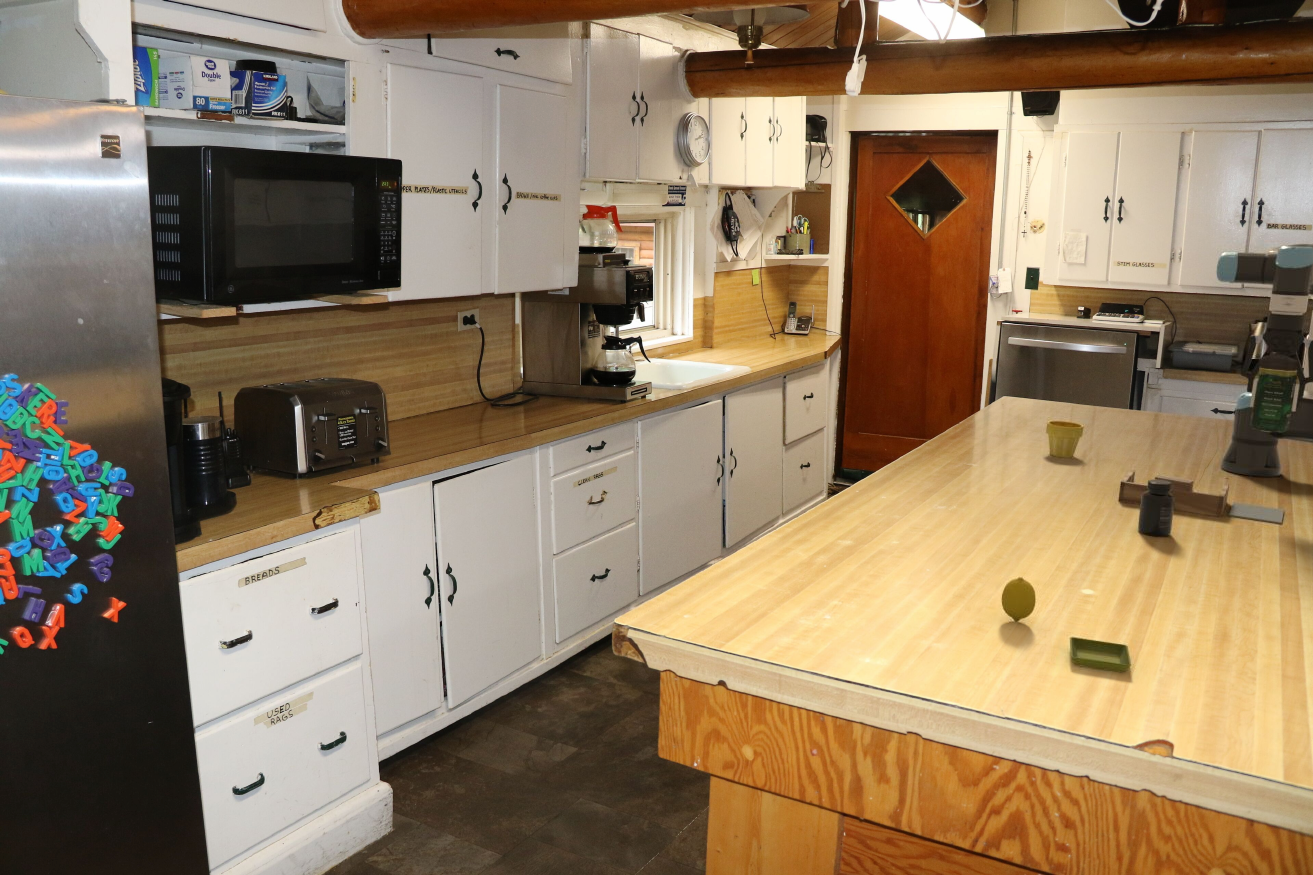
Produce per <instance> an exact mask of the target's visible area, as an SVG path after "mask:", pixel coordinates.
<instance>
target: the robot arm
mask: <svg viewBox="0 0 1313 875" xmlns="http://www.w3.org/2000/svg"><path fill="white" fill-rule="evenodd" d="M1216 278H1217V280H1218V281H1219V282H1222V283H1229V284H1253V285H1268V286H1271V285H1272V289H1271V294H1270V302H1269V307H1268V309H1269V311H1271V312H1269V313H1268V314H1267V321H1266V327H1265V332H1264V333H1263V334H1258V335H1255V334H1251V336H1249V347H1248V351H1247V353H1246V356H1245V360H1244V362H1243V366H1242V369H1241V371H1240V375H1241V377H1244V378H1246V379H1247V387H1246V392H1243V393H1241V394H1239V395H1238V397H1237V402H1236V405H1235V407H1234V410H1235V411H1234V417H1233V426H1232V432H1231V440H1230V443H1229V445H1228V447H1227V448H1226V450H1225V453H1224V454H1223V456H1222V458H1221V461H1220V469H1222V470H1224V471H1227V472H1230V473H1234V474H1239V475H1244V476H1251V477H1252V476H1253V477H1262V478H1263V477H1267V478H1270V477H1273V478H1274V477H1278V476H1280V475H1281V473H1282V464H1281V458H1280V454H1279V450H1278V447H1279V446H1278V444H1279V440H1287V441H1292V442H1293V441H1294V442H1301V443H1308V444H1313V311H1311V312H1312V313H1311V319H1310V326H1309V333H1308V338H1307V337H1305V336H1304V328H1305V321H1306V316H1305V315H1304V314H1305V313H1306V312H1307V308H1308V304H1309V302H1308V301H1309V297H1310V299H1311V300H1313V243H1312V244H1311V243H1298V244H1297V243H1296V244H1288V245H1282V246H1277V247H1271V248H1268V249H1266V250H1264V251H1254V252H1250V251H1249V252H1238V251H1233V252H1231V251H1229V252H1228V251H1227V252H1226V251H1225V252H1223V253H1222V254H1221V255H1220V256H1219V258H1218V261H1217V264H1216ZM1262 340H1263V342H1264V343H1265V345H1266V346H1267V349H1266V351H1265V352H1264V353H1263V354H1262V356H1261V358H1262V357H1266V356H1269V355H1271V354H1273V353H1287V354H1290V355H1291V358H1293V359H1295V360H1297V361H1298V367H1297V379H1298V381H1299V382H1296V386H1295V392H1294V398H1293V404H1292V410H1291V416H1290V422H1289V428H1288V429H1287V430H1286V431H1284V432H1274V431H1272V432H1264V431H1261V430H1258V429H1253V428H1251V426H1250V423H1251V417H1252V411H1253V405H1254V399H1255V393H1256V386H1257V380H1258V378H1256V376H1258V373H1259V366H1260V360H1261V358H1260V359H1259V360H1258V362H1257V363H1256V365H1255V366H1254V368H1253V369H1252V371H1251V372H1250V371H1249V369H1250V365H1251V363H1252V360H1253V357H1254V353H1255V351H1256V348H1257V345H1259V344H1260V342H1261V341H1262ZM1302 343H1304V344H1305V346H1304V347H1305V348H1306V353H1305V358H1304V359H1305V360H1304V367H1302V365H1301V361H1300V359H1299V356H1298V352H1297V350H1296V349H1297V348H1298V347H1299V346H1301V344H1302ZM1272 352H1273V353H1272Z"/></svg>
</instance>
